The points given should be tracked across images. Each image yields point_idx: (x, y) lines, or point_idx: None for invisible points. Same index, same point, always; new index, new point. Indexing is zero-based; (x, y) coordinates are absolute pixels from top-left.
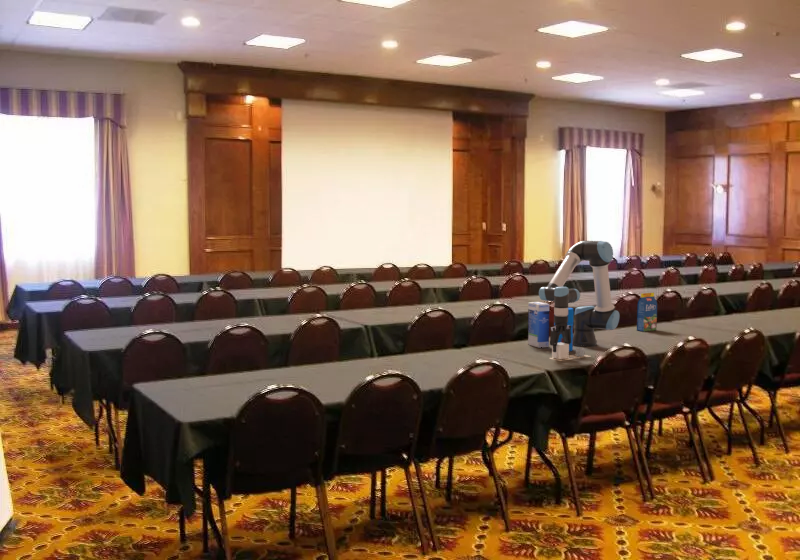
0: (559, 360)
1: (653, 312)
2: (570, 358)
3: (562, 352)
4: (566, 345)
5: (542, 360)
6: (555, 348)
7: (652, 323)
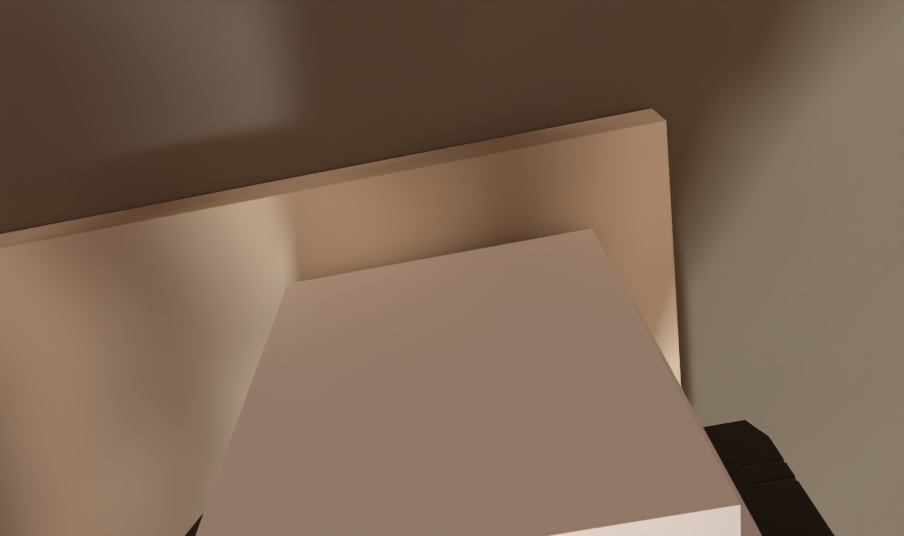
0: (644, 173)
1: None
2: (230, 285)
3: (535, 332)
4: (340, 526)
5: (798, 450)
6: (770, 509)
7: None
